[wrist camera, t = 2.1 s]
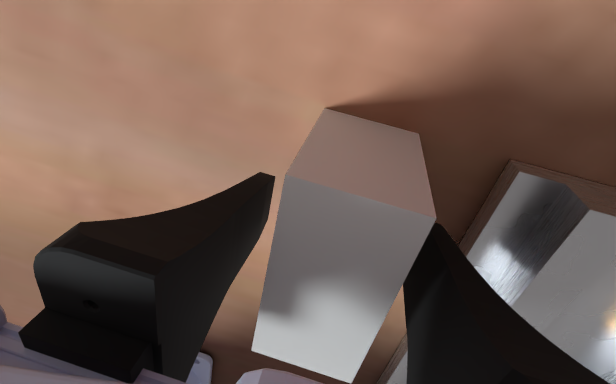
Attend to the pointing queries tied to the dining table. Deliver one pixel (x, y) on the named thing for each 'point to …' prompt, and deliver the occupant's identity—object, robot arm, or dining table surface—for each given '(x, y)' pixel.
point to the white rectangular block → (342, 243)
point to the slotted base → (547, 262)
